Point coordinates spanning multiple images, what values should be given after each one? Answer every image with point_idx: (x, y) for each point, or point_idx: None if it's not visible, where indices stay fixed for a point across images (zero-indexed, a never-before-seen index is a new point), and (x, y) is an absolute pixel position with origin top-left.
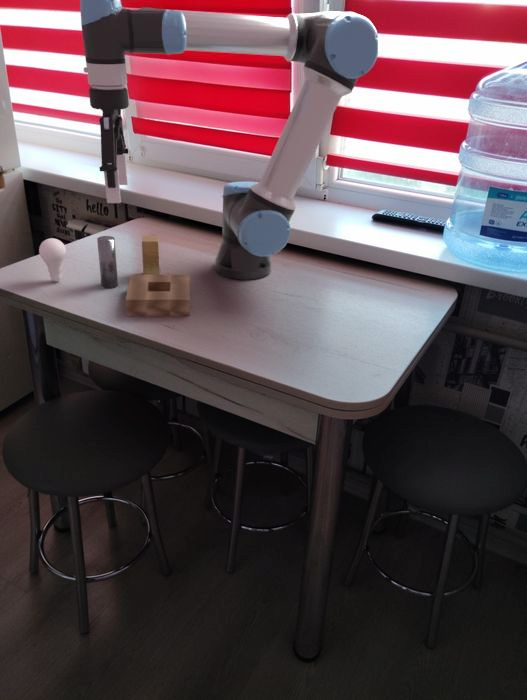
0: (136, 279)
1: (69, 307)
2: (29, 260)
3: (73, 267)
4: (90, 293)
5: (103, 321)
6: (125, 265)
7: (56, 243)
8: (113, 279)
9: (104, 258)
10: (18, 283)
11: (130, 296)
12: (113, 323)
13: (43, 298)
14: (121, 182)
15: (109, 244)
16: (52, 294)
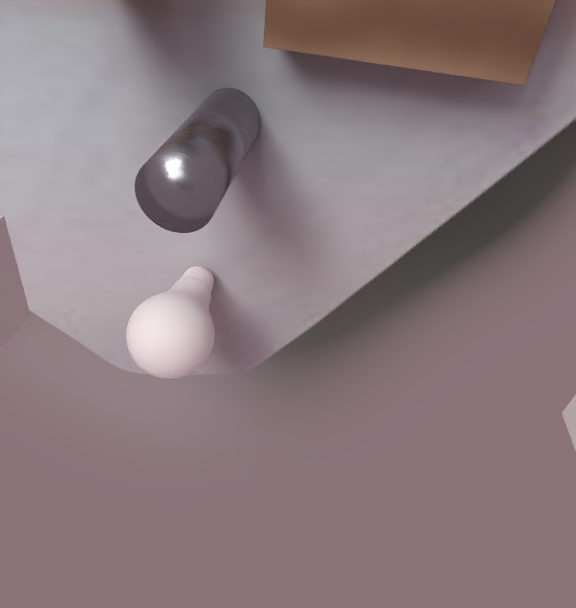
0: (323, 22)
1: (386, 245)
2: (63, 330)
3: (92, 228)
4: (293, 185)
5: (520, 153)
6: (40, 47)
7: (177, 347)
8: (249, 114)
9: (233, 176)
10: (213, 352)
11: (500, 62)
12: (550, 120)
13: (312, 304)
14: (3, 280)
15: (215, 177)
16: (289, 284)
